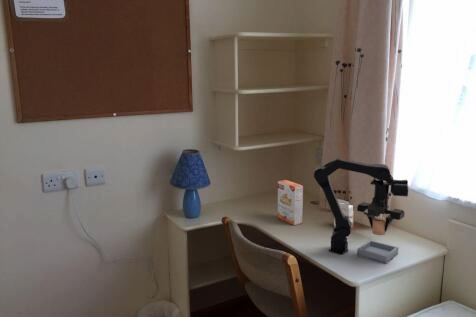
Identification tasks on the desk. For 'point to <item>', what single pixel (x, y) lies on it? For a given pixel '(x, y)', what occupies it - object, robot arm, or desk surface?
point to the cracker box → (290, 202)
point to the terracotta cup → (379, 226)
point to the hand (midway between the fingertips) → (379, 229)
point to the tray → (377, 251)
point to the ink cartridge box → (346, 210)
